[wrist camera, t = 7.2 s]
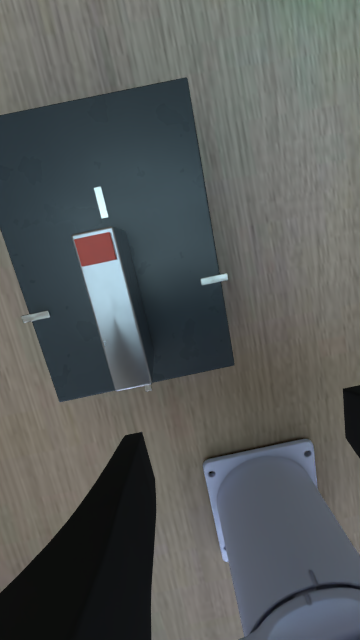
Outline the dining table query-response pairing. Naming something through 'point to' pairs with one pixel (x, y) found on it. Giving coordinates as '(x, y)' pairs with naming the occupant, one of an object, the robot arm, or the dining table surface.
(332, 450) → the dining table surface
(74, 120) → the plate
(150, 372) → the tap handle
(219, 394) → the dining table surface
